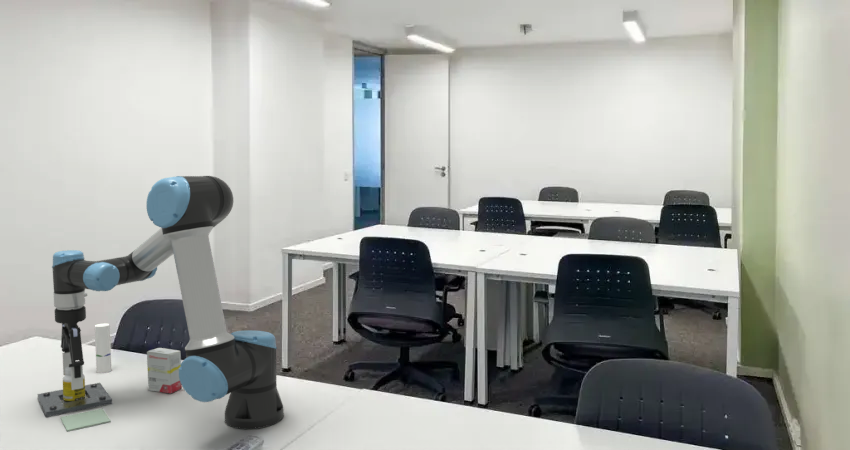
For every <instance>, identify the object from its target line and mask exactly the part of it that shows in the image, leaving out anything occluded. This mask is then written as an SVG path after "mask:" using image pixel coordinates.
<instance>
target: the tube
mask: <svg viewBox="0 0 850 450" xmlns="http://www.w3.org/2000/svg"><path fill="white" fill-rule="evenodd" d="M94 342H95V343H94V345H95V361H96V362H95V364H96V365H95V366H96V373H97V374H107V373H110V372H112V371H113V370H112V352H111V350H112V349H111V347H112V346H111V326H110V323H107V322H106V323H104V322H103V323H98V324H95V325H94Z"/></svg>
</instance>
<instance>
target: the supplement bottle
mask: <svg viewBox="0 0 850 450" xmlns="http://www.w3.org/2000/svg"><path fill="white" fill-rule="evenodd" d="M65 374H66V375H63V376H62V390H63V402H62V403H66V402H71V401H76V400H81V399H86V395H85V385H86V382H85V381H86V379H85V374H84V373H83V388H81V389H75V390H72V387H71V367H66V368H65Z"/></svg>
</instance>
